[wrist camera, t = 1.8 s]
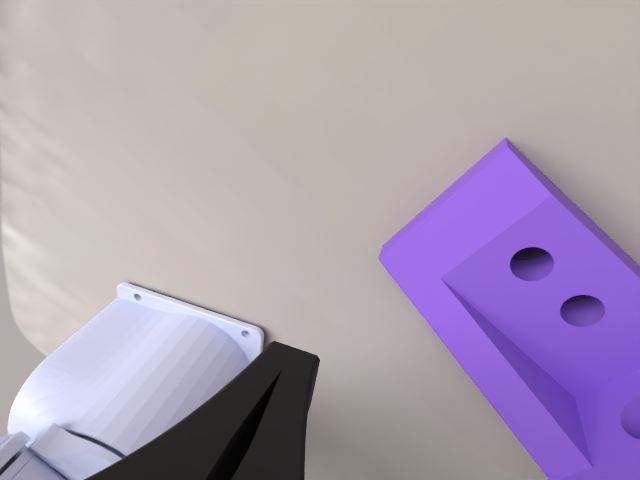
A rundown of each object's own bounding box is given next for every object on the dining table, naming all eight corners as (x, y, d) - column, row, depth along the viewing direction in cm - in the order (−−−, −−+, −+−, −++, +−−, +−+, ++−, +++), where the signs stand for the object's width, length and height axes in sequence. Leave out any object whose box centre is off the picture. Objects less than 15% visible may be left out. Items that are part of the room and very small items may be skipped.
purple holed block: (711, 332, 18) (825, 491, 12) (562, 399, 22) (595, 545, 16) (504, 135, 17) (523, 208, 11) (384, 242, 20) (350, 338, 15)
